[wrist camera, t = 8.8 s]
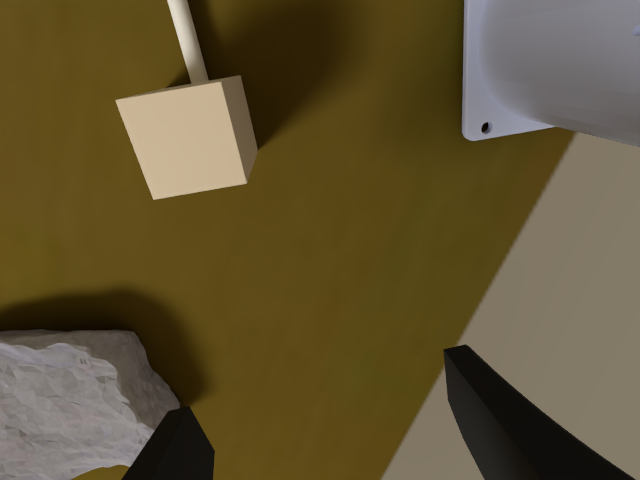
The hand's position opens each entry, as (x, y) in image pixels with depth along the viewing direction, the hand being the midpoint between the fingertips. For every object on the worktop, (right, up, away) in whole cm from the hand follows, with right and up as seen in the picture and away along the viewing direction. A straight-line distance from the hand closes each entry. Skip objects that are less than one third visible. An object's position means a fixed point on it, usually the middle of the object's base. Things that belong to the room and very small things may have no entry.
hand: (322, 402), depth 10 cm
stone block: (-16, -4, +12) cm, 20 cm away
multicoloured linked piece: (-6, +15, +3) cm, 16 cm away
